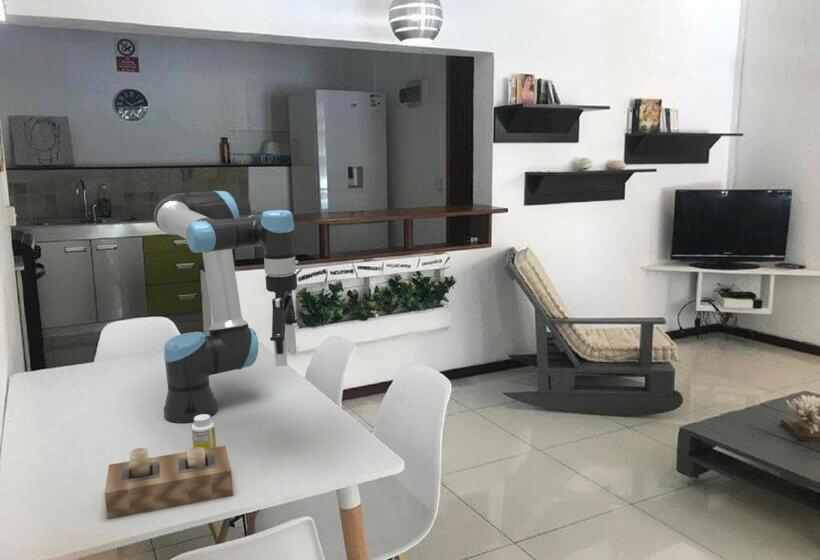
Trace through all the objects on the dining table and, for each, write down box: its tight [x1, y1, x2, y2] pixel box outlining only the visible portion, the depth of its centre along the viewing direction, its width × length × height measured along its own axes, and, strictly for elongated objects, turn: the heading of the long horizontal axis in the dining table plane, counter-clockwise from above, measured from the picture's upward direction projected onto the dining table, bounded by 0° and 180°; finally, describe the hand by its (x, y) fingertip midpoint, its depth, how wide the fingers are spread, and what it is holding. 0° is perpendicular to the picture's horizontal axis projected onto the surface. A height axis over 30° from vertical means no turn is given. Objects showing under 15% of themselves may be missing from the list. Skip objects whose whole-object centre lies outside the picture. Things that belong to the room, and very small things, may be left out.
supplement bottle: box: [191, 414, 217, 449], centre depth 174 cm, size 6×6×10 cm
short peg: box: [186, 447, 206, 469], centre depth 157 cm, size 4×4×6 cm
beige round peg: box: [128, 447, 150, 479], centre depth 153 cm, size 4×4×6 cm
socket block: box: [104, 445, 234, 520], centre depth 156 cm, size 26×14×6 cm, turn 110°
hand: (286, 357), depth 172 cm, fingers open, 13 cm apart
